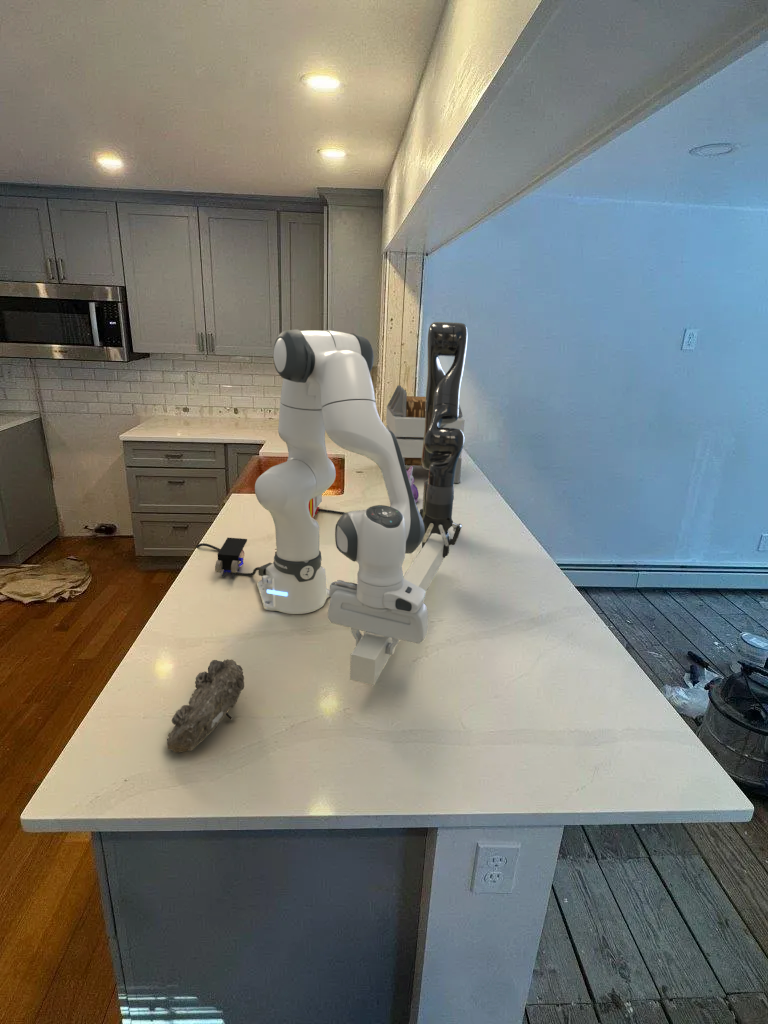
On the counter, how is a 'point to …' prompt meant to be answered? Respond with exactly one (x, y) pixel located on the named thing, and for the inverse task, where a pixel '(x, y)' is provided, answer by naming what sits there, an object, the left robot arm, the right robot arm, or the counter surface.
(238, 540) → the black wheeled block
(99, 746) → the counter surface
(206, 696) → the fossil
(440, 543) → the beam
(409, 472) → the figurine
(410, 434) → the grey wooden crate
